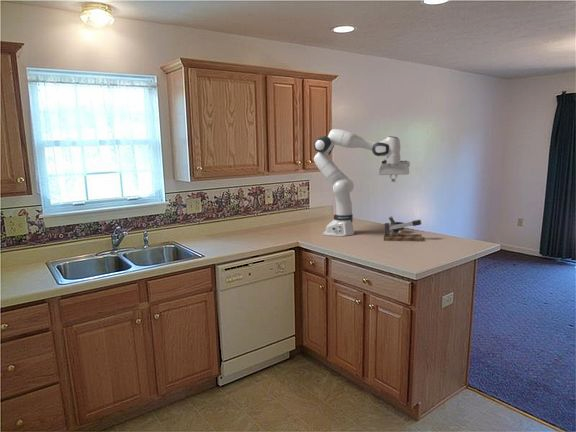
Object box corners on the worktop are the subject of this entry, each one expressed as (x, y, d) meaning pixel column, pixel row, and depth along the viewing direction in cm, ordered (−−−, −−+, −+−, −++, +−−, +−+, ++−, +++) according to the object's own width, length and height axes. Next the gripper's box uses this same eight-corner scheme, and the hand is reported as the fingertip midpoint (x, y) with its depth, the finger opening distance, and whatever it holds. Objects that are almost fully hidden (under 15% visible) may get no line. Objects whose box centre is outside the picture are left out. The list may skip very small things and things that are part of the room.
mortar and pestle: (401, 231, 296) (401, 214, 294) (406, 233, 287) (406, 216, 285) (386, 232, 294) (386, 215, 292) (391, 234, 285) (391, 217, 283)
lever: (389, 230, 271) (388, 226, 271) (389, 229, 275) (388, 225, 274) (421, 224, 265) (421, 220, 265) (421, 223, 269) (420, 219, 269)
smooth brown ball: (397, 236, 270) (397, 230, 269) (397, 235, 274) (397, 228, 273) (404, 236, 269) (404, 230, 268) (404, 235, 273) (404, 228, 272)
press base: (383, 240, 269) (383, 225, 267) (384, 236, 280) (384, 222, 279) (422, 241, 263) (422, 225, 261) (421, 237, 274) (421, 222, 273)
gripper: (409, 160, 275) (409, 180, 277) (378, 161, 280) (378, 181, 282) (409, 160, 269) (409, 181, 271) (377, 161, 274) (377, 182, 276)
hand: (393, 181), depth 276 cm, fingers closed
